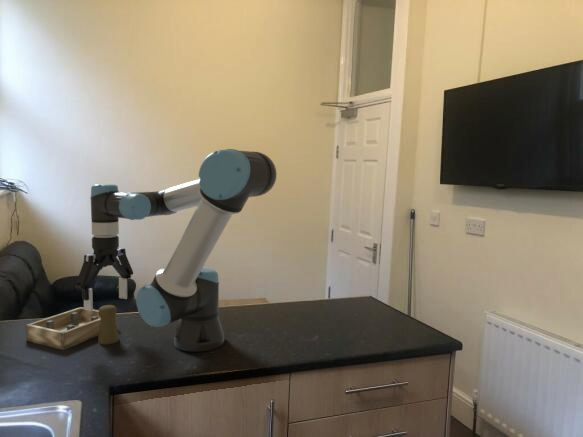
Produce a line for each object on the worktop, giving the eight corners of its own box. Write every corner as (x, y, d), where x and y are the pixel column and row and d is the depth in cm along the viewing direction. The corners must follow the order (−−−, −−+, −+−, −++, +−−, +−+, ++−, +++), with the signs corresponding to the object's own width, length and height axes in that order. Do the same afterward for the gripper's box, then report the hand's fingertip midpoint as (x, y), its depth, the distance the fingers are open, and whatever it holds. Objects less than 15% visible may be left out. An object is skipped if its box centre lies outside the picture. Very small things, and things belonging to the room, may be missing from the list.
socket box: (116, 328, 147) (115, 313, 146) (63, 349, 129) (62, 333, 128) (81, 321, 153) (80, 307, 153) (26, 340, 135) (25, 324, 134)
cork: (122, 337, 139) (121, 303, 138) (112, 344, 133) (111, 309, 132) (104, 336, 140) (103, 302, 138) (93, 343, 134) (92, 308, 132)
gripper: (126, 229, 146) (127, 292, 148) (60, 240, 123) (62, 313, 125) (144, 231, 143) (144, 295, 145) (79, 242, 120) (81, 317, 122)
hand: (106, 304), depth 135 cm, fingers open, 13 cm apart
